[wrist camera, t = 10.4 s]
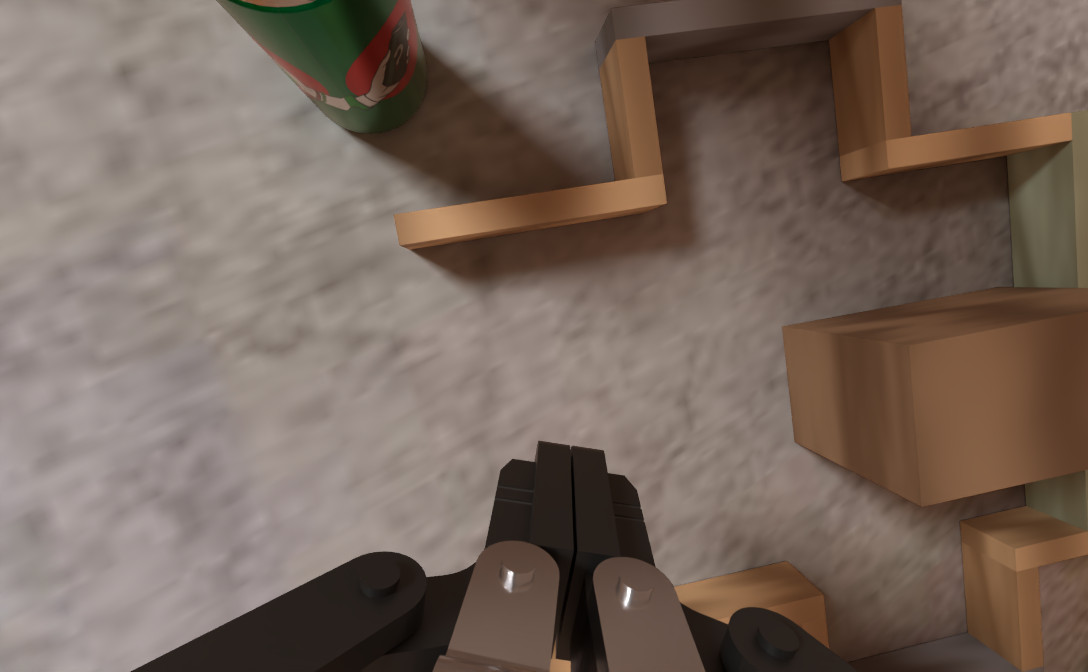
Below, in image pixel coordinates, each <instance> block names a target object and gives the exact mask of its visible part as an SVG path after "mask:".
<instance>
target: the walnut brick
mask: <svg viewBox="0 0 1088 672" xmlns="http://www.w3.org/2000/svg"><path fill="white" fill-rule="evenodd" d="M782 330H783V339H784V348H785V357H786V366H787V376H788V385H789V394H790V403H791V413H792V422H793V431H794V440H795V442H796V443H798V444H800V445H802V446H804V447H806V448H808V449H810V450H812V451H814V452H816V453H817V454H819V455H821V456H823V457H825V458H827V459H829V460H831V461H833V462H835V463H837V464H839V465H841V466H843V467H845V468H847V469H849V470H851V471H853V472H855V473H856V474H858V475H860V476H862V477H864V478H866V479H868V480H870V481H872V482H874V483H876V484H878V485H880V486H882V487H884V488H886V489H888V490H890V491H892V492H894V493H895V494H897V495H899V496H901V497H903V498H905V499H907V500H909V501H911V502H913V503H915V504H917V505H919V506H921V507H924V506H928V505H933V504H937V503H942V502H946V501H950V500H955V499H959V498H964V497H968V496H973V495H977V494H982V493H986V492H990V491H995V490H999V489H1004V488H1008V487H1013V486H1017V485H1022V484H1026V483H1030V482H1035V481H1039V480H1044V479H1048V478H1053V477H1057V476H1062V475H1066V474H1070V473H1075V472H1079V471H1084V470H1088V288H1050V287H995V288H990V289H985V290H979V291H974V292H968V293H963V294H957V295H952V296H946V297H941V298H935V299H930V300H925V301H919V302H914V303H908V304H903V305H897V306H892V307H886V308H881V309H875V310H870V311H864V312H859V313H854V314H848V315H843V316H837V317H832V318H826V319H821V320H815V321H810V322H804V323H799V324H793V325H788V326H783V327H782Z"/></svg>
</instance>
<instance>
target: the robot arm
mask: <svg viewBox="0 0 1088 672" xmlns="http://www.w3.org/2000/svg"><path fill="white" fill-rule="evenodd" d="M640 507H641V505H640V501H639V497H638V493H637V490H636V489H635V488H634V486H633V485H632V484H631V483H630V482H629V481H628V479H627V478H626V477H625V476H623V475H617V474H610V473H608V472H607V466H606V460H605V454H604V451H603V450H598V449H591V448H584V447H578V446H572V447H571V450H570V445H564V444H557V443H551V442H544V441H538V445H537V450H536V456H535V462H530V461H523V460H516V459H512V460H511V461H510V462H509V463H508V464H507V465H505V466H504V467H503V468H502V469H501V471H500V476H499V481H498V486H497V491H496V496H495V501H494V506H493V511H492V516H491V521H490V526H489V531H488V536H487V540H486V545H485V549H484V551H482V553H481V554H480V555H479V557H478V559H477V561H476V562H475V563H474V564H473V565H472V566H470V567H468V568H467V569H465V570H462V571H460V572H457V573H453V574H449V575H443V576H434V577H426V575H425V572H424V570H423V569H422V567H421V566H420V565H419V564H418V563H417V562H416V561H415V560H413V559H412V558H410V557H408V556H406V555H403V554H400V553H395V552H374V553H369V554H365V555H362V556H359V557H357V558H355V559H353V560H351V561H349V562H347V563H345V564H343V565H341V566H339V567H337V568H335V569H333V570H331V571H329V572H327V573H325V574H323V575H321V576H319V577H317V578H315V579H313V580H311V581H309V582H307V583H305V584H303V585H301V586H299V587H297V588H295V589H293V590H291V591H289V592H287V593H285V594H283V595H281V596H279V597H277V598H275V599H273V600H271V601H269V602H267V603H265V604H263V605H261V606H260V607H258V608H256V609H254V610H252V611H250V612H248V613H246V614H244V615H242V616H240V617H238V618H236V619H234V620H232V621H230V622H228V623H226V624H224V625H222V626H220V627H218V628H216V629H214V630H212V631H210V632H208V633H206V634H204V635H202V636H200V637H198V638H196V639H194V640H192V641H190V642H188V643H186V644H184V645H182V646H180V647H178V648H176V649H174V650H172V651H170V652H168V653H166V654H164V655H162V656H161V657H159V658H157V659H155V660H153V661H151V662H149V663H147V664H145V665H143V666H141V667H139V668H137V669H135V670H133V671H131V672H550V663H551V659H552V655H553V650H554V645H555V640H556V659H559V660H566V661H570V662H571V672H858V671H857V670H856V669H854V668H853V667H852V666H850V665H849V664H848V663H846V662H845V661H844V660H843V659H841V658H840V657H839V656H837V655H836V654H835V653H834V652H832V651H831V650H830V649H828V648H827V647H826V646H825V645H823V644H822V643H821V642H819V641H818V640H817V639H816V638H814V637H813V636H812V635H810V634H809V633H808V632H806V631H805V630H804V629H803V628H801V627H800V626H799V625H797V624H796V623H794V622H793V621H792V620H790V619H788V618H787V617H785V616H783V615H781V614H779V613H777V612H774V611H771V610H768V609H764V608H759V607H746V608H741V609H739V610H737V611H736V612H735V613H733V614H732V616H731V618H730V620H729V623H728V624H726V623H724V622H721V621H719V620H716V619H714V618H711V617H709V616H706V615H704V614H701V613H699V612H697V611H695V610H693V609H691V608H689V607H687V606H685V605H684V604H682V603H681V602H680V601H679V599H678V596H677V593H676V591H675V589H674V586H673V584H672V583H671V582H670V580H669V579H668V578H667V577H666V576H665V574H663V573H662V572H661V571H660V570H659V569H657V568H656V567H655V563H654V559H653V555H652V551H651V547H650V542H649V538H648V534H647V530H646V526H645V522H644V518H643V514H642V509H640Z"/></svg>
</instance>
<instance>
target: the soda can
mask: <svg viewBox="0 0 1088 672" xmlns="http://www.w3.org/2000/svg"><path fill="white" fill-rule="evenodd" d="M216 1H217V2H218V3H219V4H220V5H221V6H222V7H223V8H224V9H225V10H226V11H227V12H228V13H229V14H230V15H231V16H232V17H233V19H234V20H235V21H236V22H237V23H238V24H239V25H240V26H241V27H242V28H243V29H244V30H245V31H246V32H247V33H248V34H249V35H250V36H251V37H252V39H253V40H254V41H255V42H256V43H257V44H258V45H259V46H260V47H261V48H262V49H263V50H264V51H265V52H266V53H267V54H268V55H269V56H270V58H271V59H272V60H273V61H274V62H275V63H276V64H277V65H278V66H279V67H280V68H281V69H282V70H283V71H284V72H285V73H286V74H287V75H288V77H289V78H290V79H291V80H292V81H293V82H294V83H295V84H296V85H297V86H298V87H299V88H300V89H301V90H302V91H303V92H304V93H305V94H306V95H307V97H308V98H309V99H310V100H311V101H312V102H313V103H314V104H315V105H316V106H317V107H318V108H319V109H320V110H321V111H322V112H323V113H324V114H325V116H327V117H328V118H329V119H330V120H332V121H333V122H334V123H336V124H338V125H339V126H341V127H343V128H346V129H348V130H351V131H354V132H359V133H367V134H374V133H382V132H386V131H390V130H392V129H394V128H397V127H399V126H400V125H402V124H403V123H405V122H406V121H407V120H408V119H409V118H410V117H412V116H413V114H414V113H415V112H416V110H417V109H418V108H419V106H420V104H421V102H422V100H423V98H424V95H425V92H426V87H427V76H428V71H427V64H426V59H425V55H424V51H423V47H422V44H421V40H420V36H419V32H418V28H417V24H416V20H415V16H414V12H413V8H412V4H411V1H410V0H216Z"/></svg>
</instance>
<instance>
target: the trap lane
mask: <svg viewBox="0 0 1088 672" xmlns="http://www.w3.org/2000/svg"><path fill="white" fill-rule="evenodd" d="M826 40H829V48H830V59H831V70H832V81H833V92H834V103H835V113H836V124H837V135H838V146H839V157H840V168H841V179H842V182H843V181H849V180H856V179H862V178H868V177H875V176H881V175H887V174H894V173H900V172H907V171H913V170H919V169H926V168H932V167H938V166H945V165H951V164H957V163H964V162H970V161H976V160H983V159H989V158H996V157H1002V156H1007V169H1008V188H1009V206H1010V224H1011V243H1012V261H1013V280H1014V287H1050V288H1088V110H1085V111H1078V112H1072V113H1065V114H1058V115H1052V116H1045V117H1039V118H1032V119H1025V120H1019V121H1012V122H1005V123H999V124H992V125H985V126H979V127H972V128H965V129H959V130H952V131H946V132H939V133H932V134H926V135H919V136H912V135H911V122H910V109H909V96H908V82H907V69H906V56H905V43H904V29H903V16H902V3H901V0H676V1H668V2H659V3H650V4H642V5H633V6H625V7H616V8H611V10H610V12H609V14H608V16H607V18H606V20H605V23H604V25H603V27H602V29H601V31H600V33H599V35H598V37H597V39H596V41H595V44H596V51H597V58H598V65H599V72H600V79H601V86H602V93H603V100H604V107H605V114H606V121H607V128H608V135H609V142H610V149H611V155H612V162H613V169H614V176H615V181H613V182H607V183H600V184H593V185H587V186H580V187H573V188H567V189H560V190H554V191H547V192H540V193H534V194H527V195H520V196H514V197H507V198H500V199H494V200H487V201H480V202H474V203H467V204H460V205H454V206H447V207H441V208H434V209H427V210H421V211H414V212H407V213H401V214H394V219H395V224H396V229H397V235H398V240H399V245H400V246H402V247H405V248H407V249H409V250H411V249H417V248H424V247H430V246H436V245H443V244H449V243H455V242H462V241H468V240H474V239H481V238H487V237H493V236H500V235H506V234H513V233H519V232H525V231H532V230H538V229H544V228H551V227H557V226H563V225H570V224H576V223H582V222H589V221H595V220H602V219H608V218H614V217H621V216H627V215H633V214H640V213H645V212H648V211H650V210H653V209H655V208H657V207H660V206H662V205H665V204H667V200H666V192H665V185H664V177H663V170H662V162H661V155H660V147H659V139H658V132H657V124H656V117H655V109H654V102H653V94H652V86H651V79H650V71H649V64H648V63H656V62H663V61H671V60H679V59H687V58H694V57H702V56H710V55H718V54H725V53H733V52H741V51H749V50H756V49H764V48H772V47H780V46H787V45H795V44H803V43H811V42H818V41H826ZM1025 500H1026V506H1023V507H1019V508H1015V509H1010V510H1006V511H1001V512H997V513H993V514H988V515H984V516H980V517H975V518H971V519H967V520H962V521H960V530H961V544H962V558H963V572H964V586H965V601H966V615H967V629H968V632H967V633H963V634H959V635H955V636H951V637H947V638H943V639H939V640H935V641H931V642H928V643H924V644H920V645H916V646H912V647H908V648H904V649H900V650H896V651H892V652H888V653H884V654H880V655H876V656H872V657H868V658H864V659H860V660H856V661H852V662H848V664H849V665H850V666H852V667H853V668H854V669H856V670H857V671H858V672H1044V665H1043V646H1042V627H1041V608H1040V589H1039V570H1038V566H1042V565H1046V564H1050V563H1055V562H1059V561H1063V560H1067V559H1071V558H1075V557H1079V556H1083V555H1087V554H1088V470H1084V471H1079V472H1075V473H1070V474H1066V475H1062V476H1057V477H1053V478H1048V479H1044V480H1039V481H1035V482H1030V483H1026V484H1025ZM674 589H675V591H676V593H677V596H678V599H679V601H680V602H681V603H682V604H684V605H685V606H687V607H689V608H691V609H693V610H695V611H697V612H699V613H701V614H704V615H706V616H709V617H711V618H714V619H716V620H719V621H721V622H724V623H726V624H728V623H729V620H730V618H731V616H732V614H733V613H735V612H736V611H737V610H739V609H741V608H746V607H759V608H764V609H768V610H771V611H774V612H777V613H779V614H781V615H783V616H785V617H787V618H788V619H790V620H792V621H793V622H794V623H796V624H797V625H799V626H800V627H801V628H803V629H804V630H805V631H806V632H808V633H809V634H810V635H812V636H813V637H814V638H816V639H817V640H818V641H819V642H821V643H822V644H823V645H825V646H826V647H827V648H828V649H829V642H828V632H827V623H826V614H825V604H824V595H823V594H822V593H821V592H820V591H819V590H818V589H817V588H816V587H815V586H814V585H813V584H811V583H810V582H809V581H808V580H807V579H806V578H805V577H804V576H803V575H802V574H801V573H800V572H798V571H797V570H796V569H795V568H794V567H793V566H792V565H791V564H790V563H789V562H788V561H784V562H780V563H775V564H771V565H767V566H762V567H758V568H754V569H749V570H745V571H741V572H736V573H732V574H728V575H723V576H719V577H714V578H710V579H706V580H701V581H697V582H693V583H688V584H684V585H680V586H675V587H674ZM550 672H571V662H570V661H566V660H559V659H556V640H555V645H554V650H553V655H552V659H551V663H550Z"/></svg>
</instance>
